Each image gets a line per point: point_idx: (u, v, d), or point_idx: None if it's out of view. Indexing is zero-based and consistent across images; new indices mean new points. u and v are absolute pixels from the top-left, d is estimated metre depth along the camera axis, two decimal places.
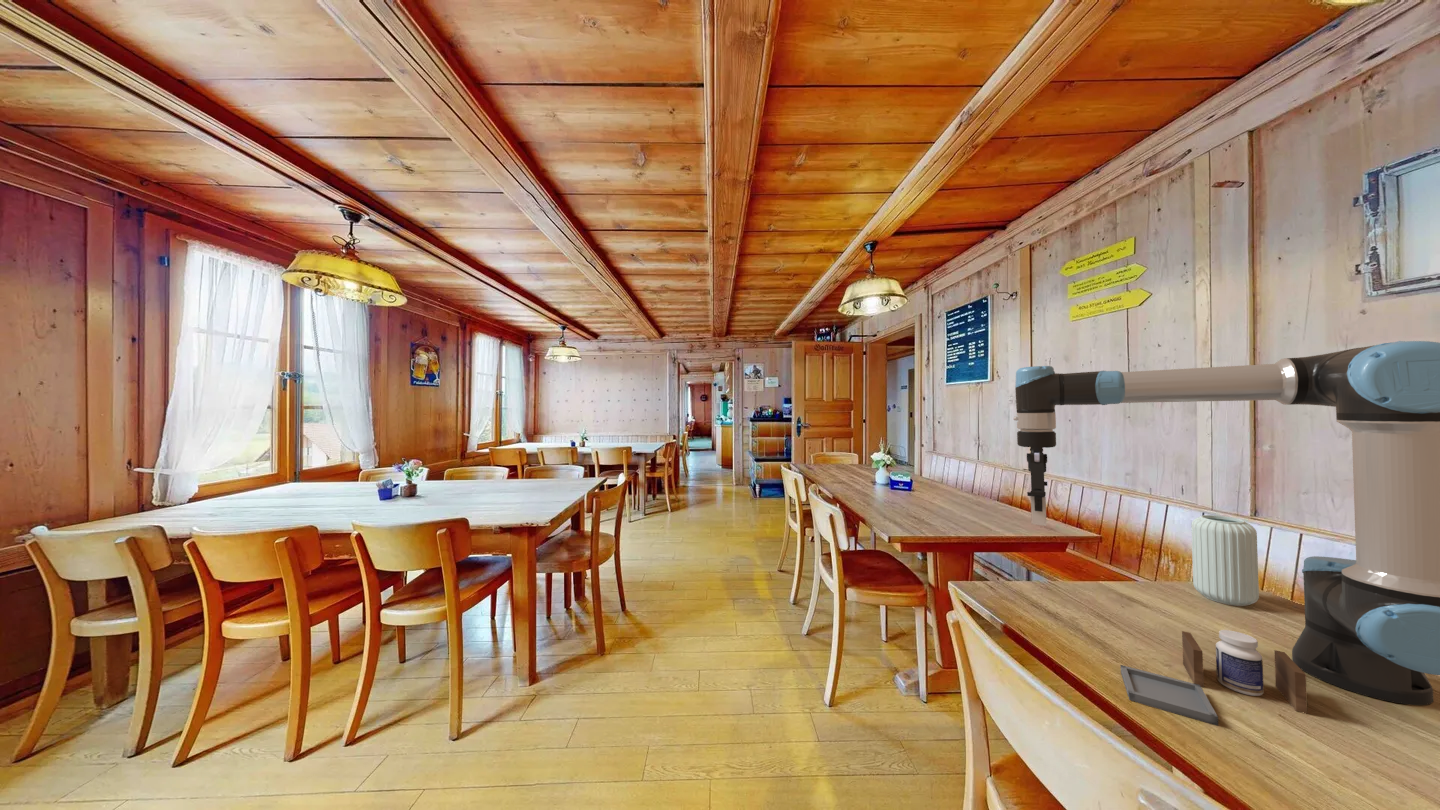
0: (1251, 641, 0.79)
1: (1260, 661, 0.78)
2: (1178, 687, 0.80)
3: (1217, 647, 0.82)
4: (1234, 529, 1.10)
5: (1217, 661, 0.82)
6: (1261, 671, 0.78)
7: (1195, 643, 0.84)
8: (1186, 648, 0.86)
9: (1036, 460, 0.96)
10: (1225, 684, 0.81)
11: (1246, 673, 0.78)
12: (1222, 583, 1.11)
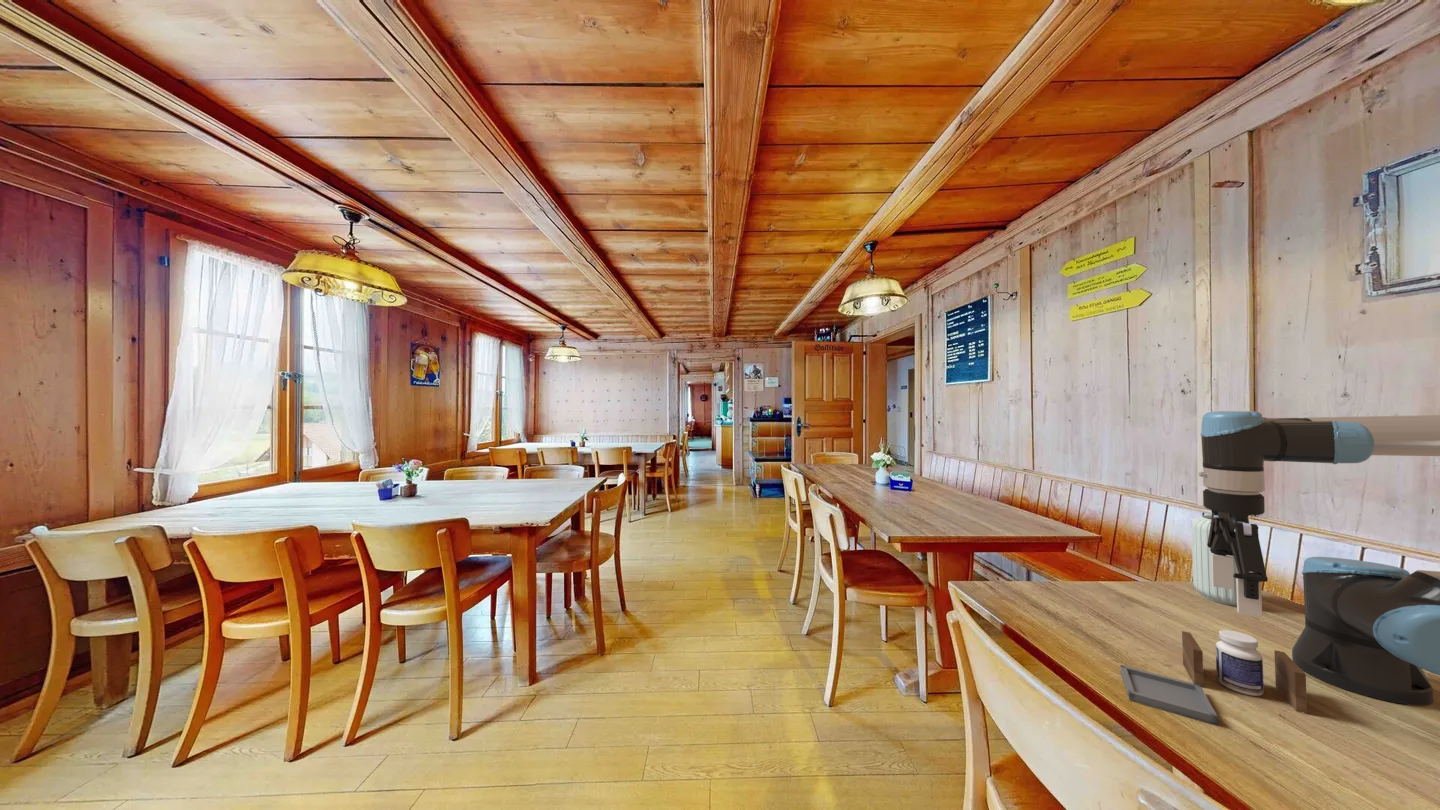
0: (1251, 641, 0.79)
1: (1260, 661, 0.78)
2: (1178, 687, 0.80)
3: (1217, 647, 0.82)
4: None
5: (1217, 661, 0.82)
6: (1261, 671, 0.78)
7: (1195, 643, 0.84)
8: (1186, 648, 0.86)
9: (1246, 533, 0.76)
10: (1225, 684, 0.81)
11: (1247, 673, 0.78)
12: None
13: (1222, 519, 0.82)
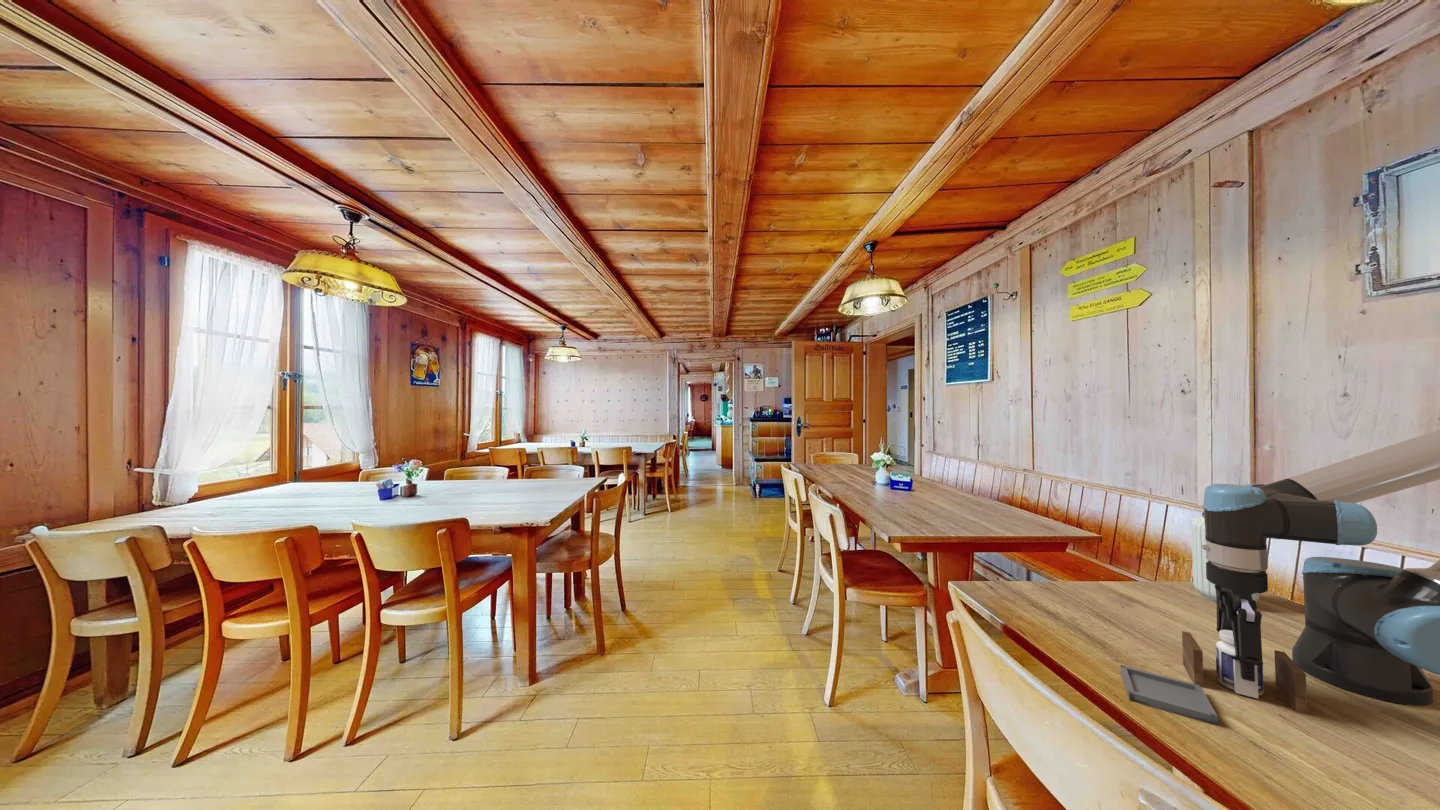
0: None
1: None
2: (1178, 687, 0.80)
3: (1217, 647, 0.82)
4: None
5: (1217, 661, 0.82)
6: (1261, 671, 0.78)
7: (1195, 643, 0.84)
8: (1186, 648, 0.86)
9: (1249, 620, 0.76)
10: (1225, 684, 0.81)
11: None
12: None
13: (1225, 588, 0.82)
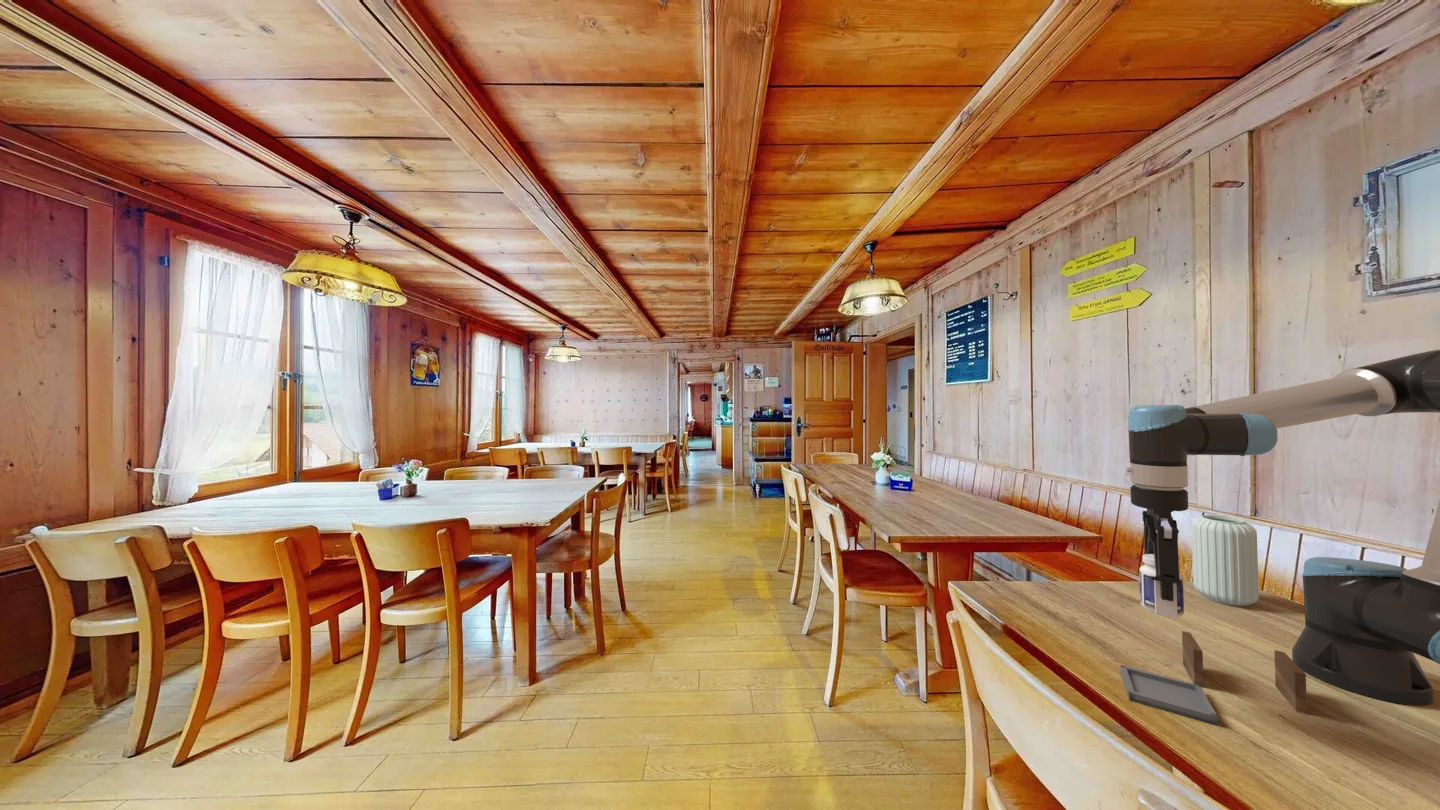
0: None
1: (1180, 581, 0.76)
2: (1178, 687, 0.80)
3: (1140, 571, 0.80)
4: (1234, 529, 1.10)
5: (1140, 585, 0.80)
6: (1181, 591, 0.76)
7: (1195, 643, 0.84)
8: (1186, 648, 0.86)
9: (1167, 537, 0.74)
10: (1146, 607, 0.79)
11: None
12: (1222, 583, 1.11)
13: (1149, 511, 0.80)
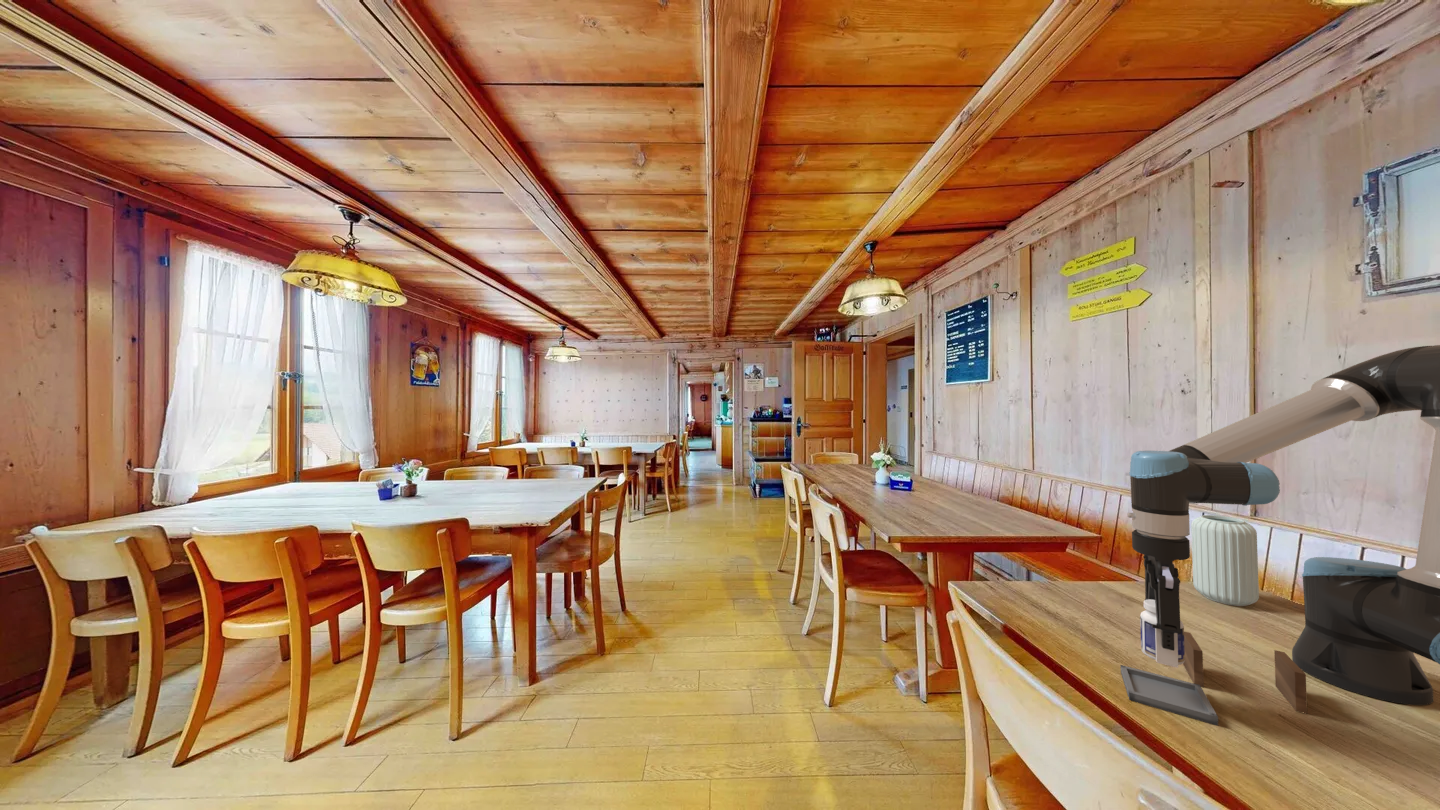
0: None
1: (1181, 630, 0.76)
2: (1178, 687, 0.80)
3: (1141, 617, 0.80)
4: (1234, 529, 1.10)
5: (1141, 631, 0.80)
6: (1182, 640, 0.76)
7: (1195, 643, 0.84)
8: (1186, 648, 0.86)
9: (1168, 587, 0.74)
10: (1147, 654, 0.79)
11: None
12: (1222, 583, 1.11)
13: (1150, 556, 0.80)
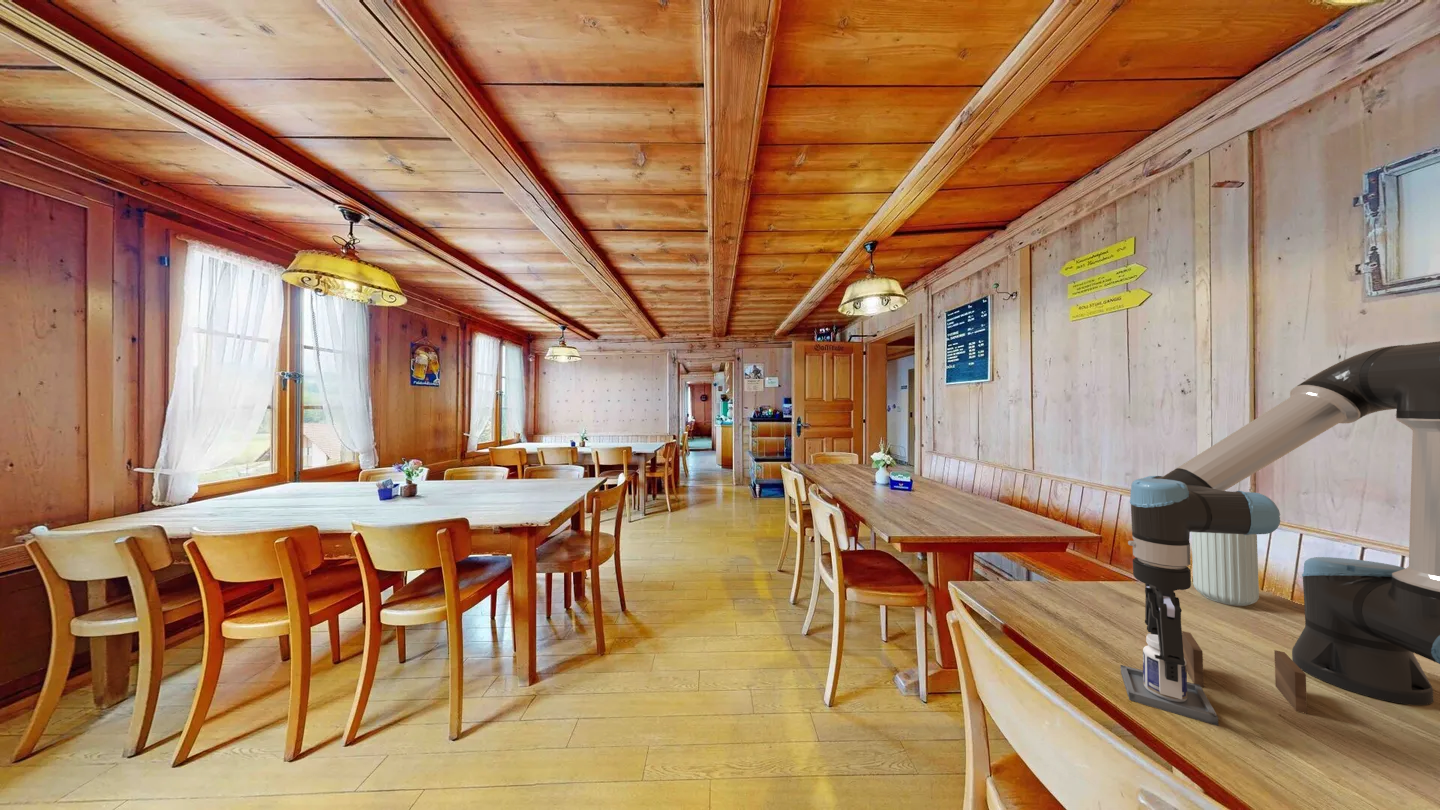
0: None
1: (1184, 667, 0.76)
2: None
3: (1144, 652, 0.80)
4: None
5: (1143, 666, 0.80)
6: (1185, 677, 0.76)
7: (1195, 643, 0.84)
8: (1186, 648, 0.86)
9: (1170, 615, 0.74)
10: (1149, 690, 0.79)
11: None
12: (1222, 583, 1.11)
13: (1151, 586, 0.80)
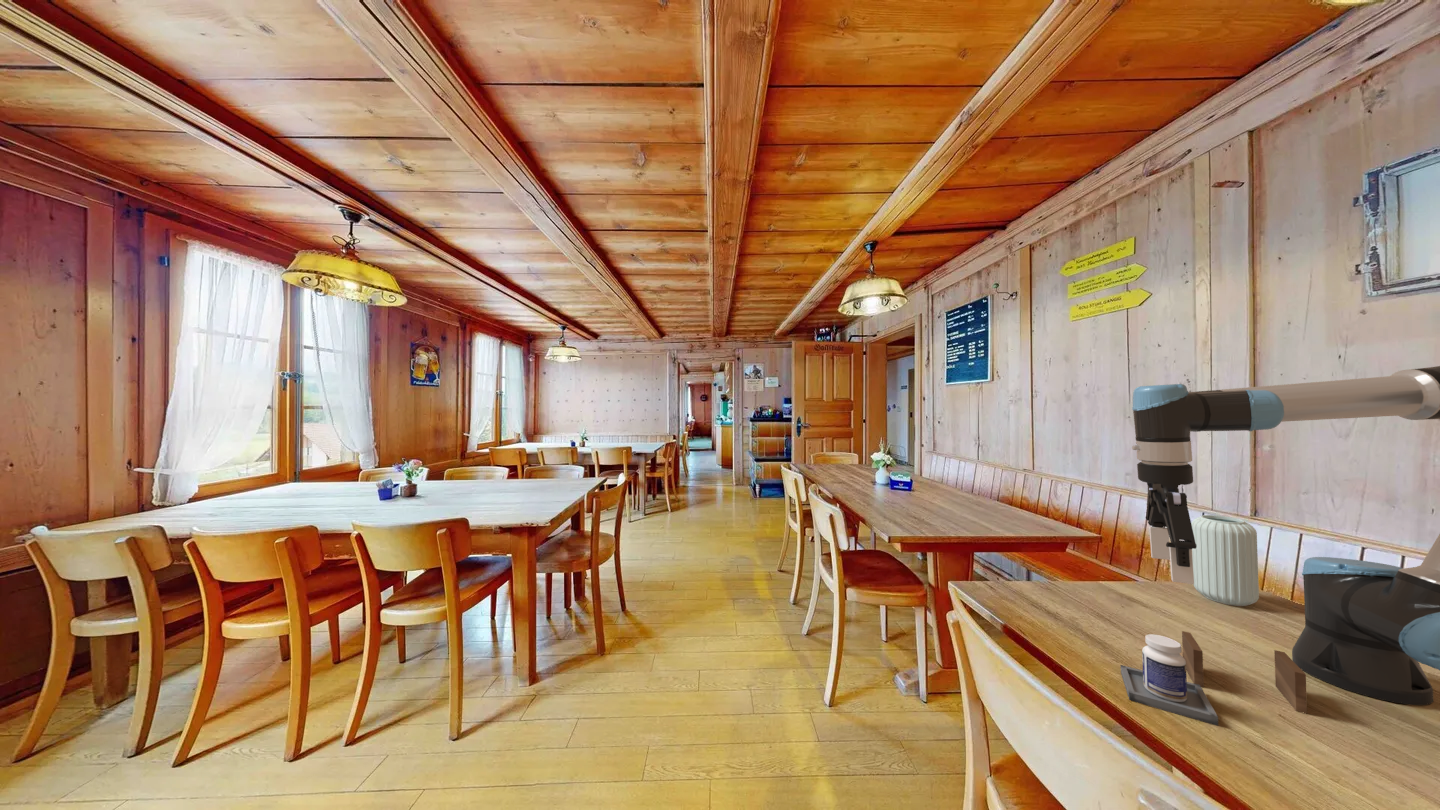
0: (1174, 646, 0.77)
1: (1183, 667, 0.76)
2: None
3: (1143, 652, 0.80)
4: (1234, 529, 1.10)
5: (1143, 666, 0.81)
6: (1184, 677, 0.76)
7: (1195, 643, 0.84)
8: (1186, 648, 0.86)
9: (1176, 502, 0.77)
10: (1149, 690, 0.79)
11: (1169, 678, 0.77)
12: (1222, 583, 1.11)
13: (1156, 491, 0.84)
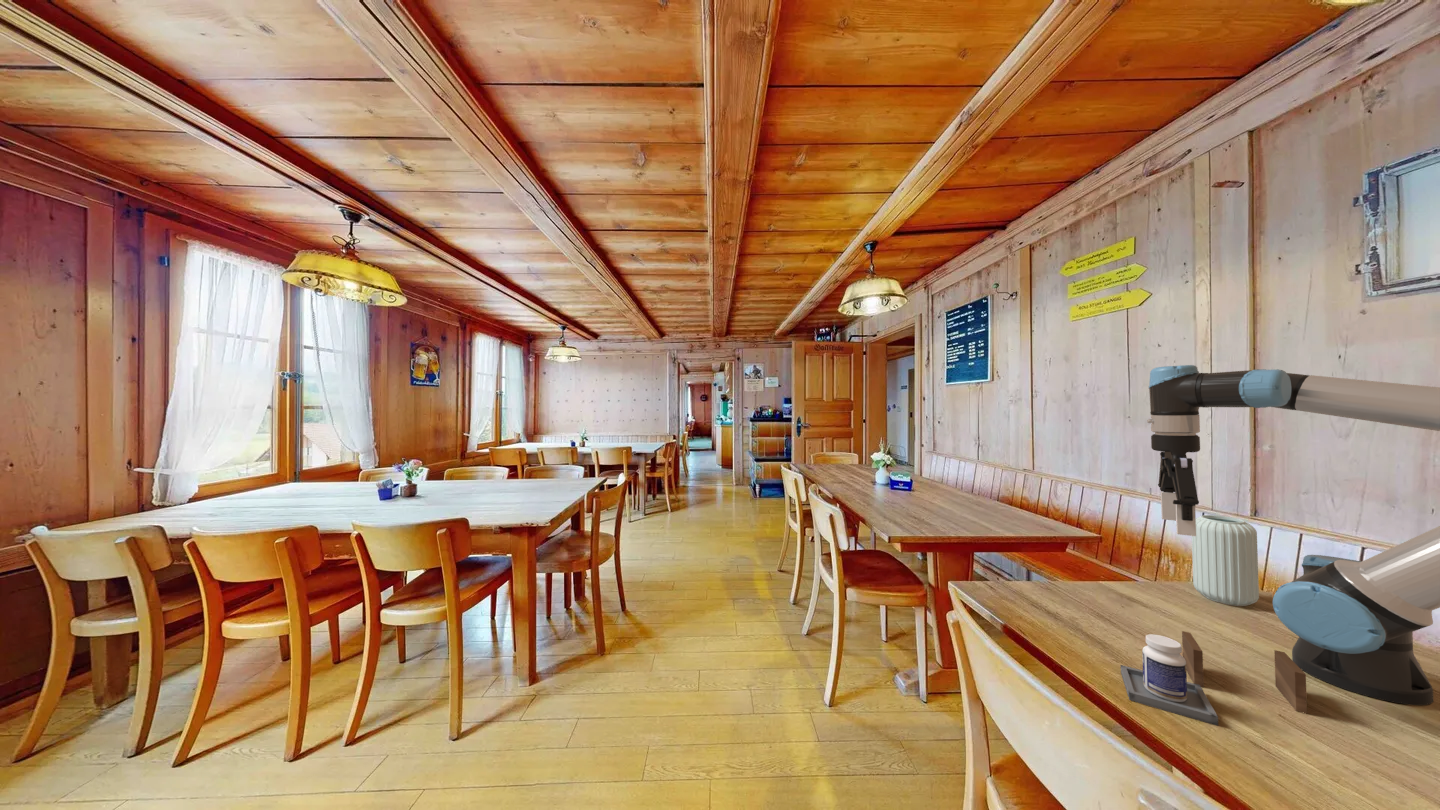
0: (1175, 646, 0.77)
1: (1183, 667, 0.76)
2: None
3: (1143, 652, 0.80)
4: (1234, 529, 1.10)
5: (1143, 666, 0.80)
6: (1184, 677, 0.76)
7: (1195, 643, 0.84)
8: (1186, 648, 0.86)
9: (1183, 466, 0.90)
10: (1149, 690, 0.79)
11: (1170, 678, 0.77)
12: (1222, 583, 1.11)
13: (1167, 459, 0.96)
